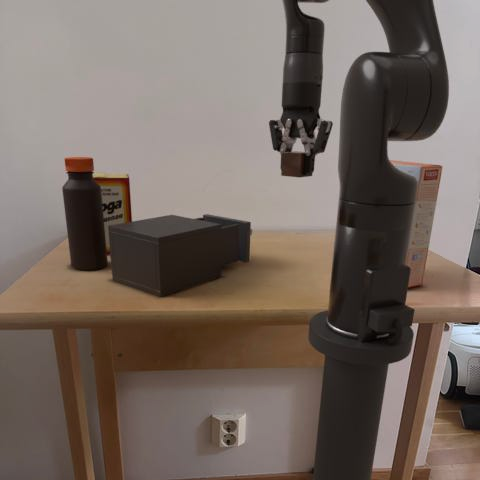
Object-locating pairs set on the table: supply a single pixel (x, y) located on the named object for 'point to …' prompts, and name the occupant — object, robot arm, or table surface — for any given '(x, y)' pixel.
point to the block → (293, 164)
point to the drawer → (232, 238)
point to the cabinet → (165, 253)
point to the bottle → (84, 215)
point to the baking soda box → (114, 200)
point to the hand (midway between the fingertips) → (296, 174)
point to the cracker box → (421, 215)
